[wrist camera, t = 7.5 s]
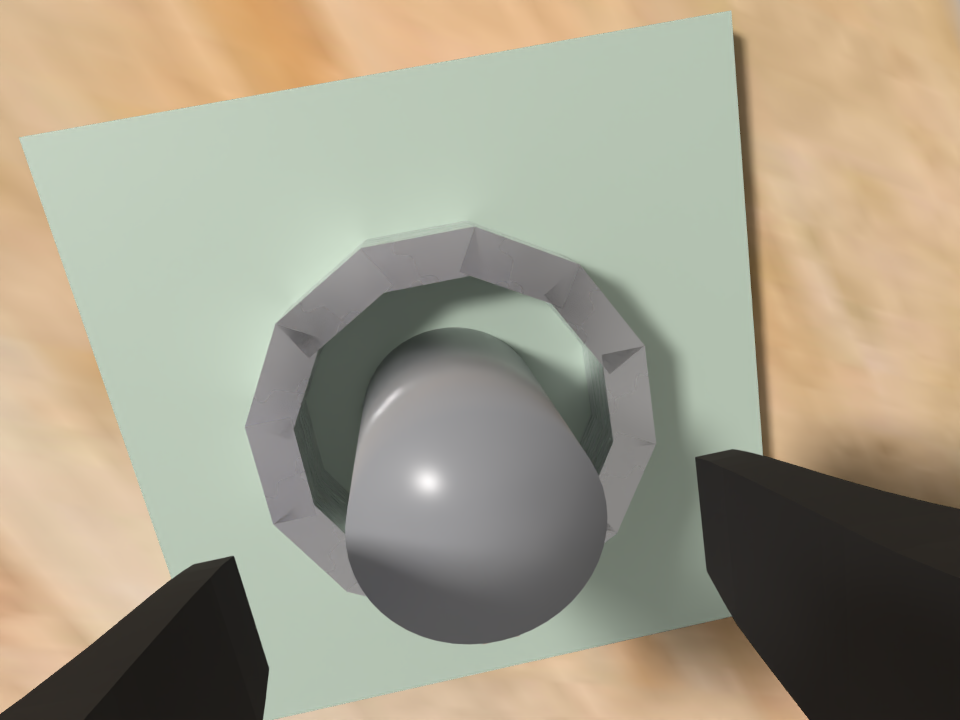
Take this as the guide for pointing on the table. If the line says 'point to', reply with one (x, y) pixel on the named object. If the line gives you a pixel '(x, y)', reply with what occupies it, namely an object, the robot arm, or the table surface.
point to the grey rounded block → (469, 493)
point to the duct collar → (414, 262)
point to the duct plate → (418, 307)
